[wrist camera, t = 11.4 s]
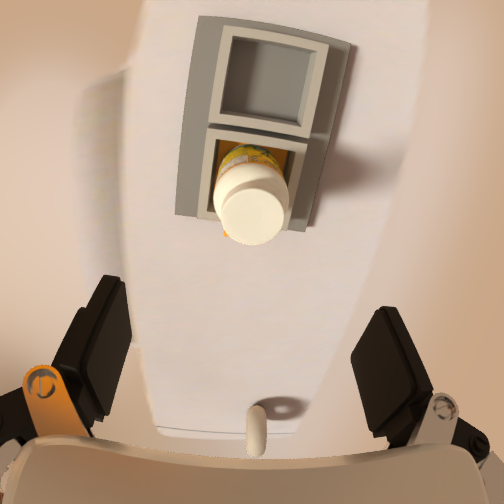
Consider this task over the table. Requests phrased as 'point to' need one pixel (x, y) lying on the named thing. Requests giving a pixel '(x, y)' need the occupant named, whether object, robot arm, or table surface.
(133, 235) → the table surface
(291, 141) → the compartment tray
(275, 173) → the supplement bottle
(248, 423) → the donut
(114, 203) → the table surface
